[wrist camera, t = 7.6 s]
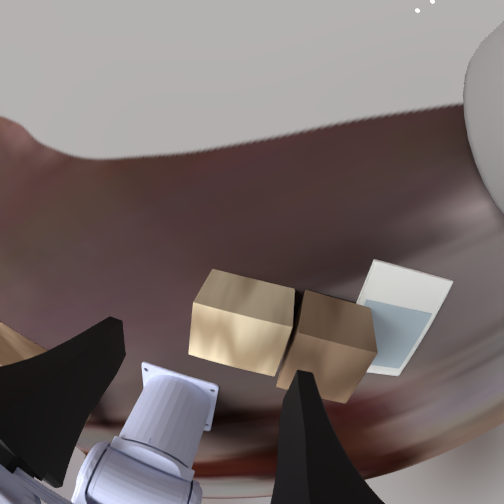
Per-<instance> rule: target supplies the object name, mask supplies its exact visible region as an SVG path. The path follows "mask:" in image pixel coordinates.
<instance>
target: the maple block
mask: <svg viewBox="0 0 504 504" xmlns="http://www.w3.org/2000/svg"><path fill="white" fill-rule="evenodd" d="M294 296H295V289H293V288H289V287H285V286H280V285H276V284H272V283H268V282H264V281H260V280H255V279H251V278H247V277H243V276H239V275H235V274H231V273H227V272H223V271H219V270H215V269H212V271H211V272H210V274H209V276H208V278H207V279H206V281H205V283H204V285H203V286H202V288H201V290H200V292H199V293H198V295H197V297H196V299H195V300H194V302H193V311H192V321H191V332H190V343H189V355H193V356H196V357H200V358H203V359H207V360H210V361H214V362H217V363H221V364H225V365H229V366H233V367H237V368H241V369H245V370H249V371H253V372H257V373H262V374H266V375H271V376H275V374H276V371H277V368H278V366H279V363H280V360H281V358H282V355H283V352H284V350H285V347H286V344H287V342H288V339H289V336H290V333H291V330H292V328H293V314H294Z"/></svg>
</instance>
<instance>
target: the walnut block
mask: <svg viewBox="0 0 504 504" xmlns="http://www.w3.org/2000/svg"><path fill="white" fill-rule="evenodd" d="M377 353H378V352H377V345H376V338H375V332H374V326H373V320H372V314H371V308H369V307H366V306H362V305H358V304H355V303H351V302H348V301H344V300H341V299H337V298H333V297H330V296H326V295H323V294H319V293H316V292H312V291H309V290H305V293H304V295H303V298H302V301H301V304H300V307H299V310H298V313H297V315H296V318H295V321H294V324H293V328H292V330H291V333H290V336H289V339H288V342H287V344H286V348H285V352H284V356H283V361H282V365H281V369H280V373H279V377H278V381H277V385H276V387H279V388H283V389H287V390H288V389H289V386H290V384H291V382H292V380H293V378H294V375H295V373H296V371H297V370H302V371H308V372H312V373H313V374H314V377H315V381H316V384H317V387H318V390H319V393H320V396H321V398H323V399H327V400H332V401H336V402H341V403H346V402H347V400H348V399H349V397H350V396H351V394H352V393H353V391H354V390H355V388H356V387H357V385H358V384H359V382H360V381H361V379H362V378H363V376H364V375H365V373H366V371H367V370H368V368H369V367H370V365H371V363H372V362H373V360H374V358H375V357H376V355H377Z"/></svg>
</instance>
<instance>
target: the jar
mask: <svg viewBox="0 0 504 504" xmlns="http://www.w3.org/2000/svg"><path fill="white" fill-rule="evenodd" d="M430 1H431V3H435V2H434V0H430ZM416 12H417V13H418V12H420V10H419V9H416ZM463 101H464V118H465V123H466V129H467V135H468V140H469V143H470V147H471V150H472V153H473V157H474V160H475V163H476V166H477V168H478V170H479V173H480V175H481V178H482V180H483V183H484V185H485V187H486V188H487V190H488V192H489V194H490V195H491V197H492V199H493V201H494V203H495V204H496V205H497V207H498V208H499V209H500V211H501V212H502V213H503V215H504V21H503V22H502V23H501V24H500V25H499V26H498V27H497V28H496V29H495V30H494V31H493V32H492V33H491V34H490V35H489V36H488V37H487V38H486V39H484V40H483V41H482V42H481V44H480V45H479V47H478V49H477V50H476V52H475V53H474V55H473V56H472V58H471V60H470V62H469V65H468V68H467V71H466V75H465V82H464V91H463Z"/></svg>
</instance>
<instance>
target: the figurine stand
mask: <svg viewBox="0 0 504 504" xmlns="http://www.w3.org/2000/svg"><path fill="white" fill-rule="evenodd" d="M46 351H48V350H46V349H44V348H42V347H41V346H39V345H37V344H35V343H34V342H32V341H30V340H29V339H27V338H25V337H24V336H22V335H20V334H19V333H17V332H15V331H14V330H12V329H11V328H9V327H8V326H6V325H5V324H3V323H2V322H0V366H5V365H9V364H12V363H16V362H19V361H22V360H26V359H29V358H31V357H34V356H37V355H39V354H42V353H44V352H46ZM90 416H91V414H90V415H89V417H90ZM89 417H88V419H89ZM88 419H87V421H88ZM87 421H86V422H87ZM85 424H86V423H85ZM84 426H85V425H84Z"/></svg>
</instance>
